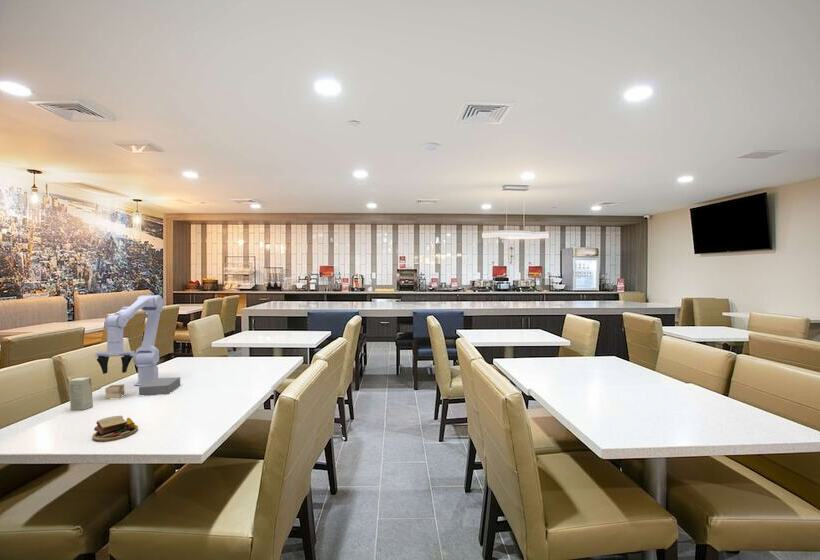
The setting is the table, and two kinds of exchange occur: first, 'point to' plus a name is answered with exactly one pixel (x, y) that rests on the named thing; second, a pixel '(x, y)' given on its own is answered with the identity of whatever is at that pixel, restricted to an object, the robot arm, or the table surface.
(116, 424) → the toy sandwich meal
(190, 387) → the table surface
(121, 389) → the birch cube
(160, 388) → the flat grey base plate
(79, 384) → the skincare box
